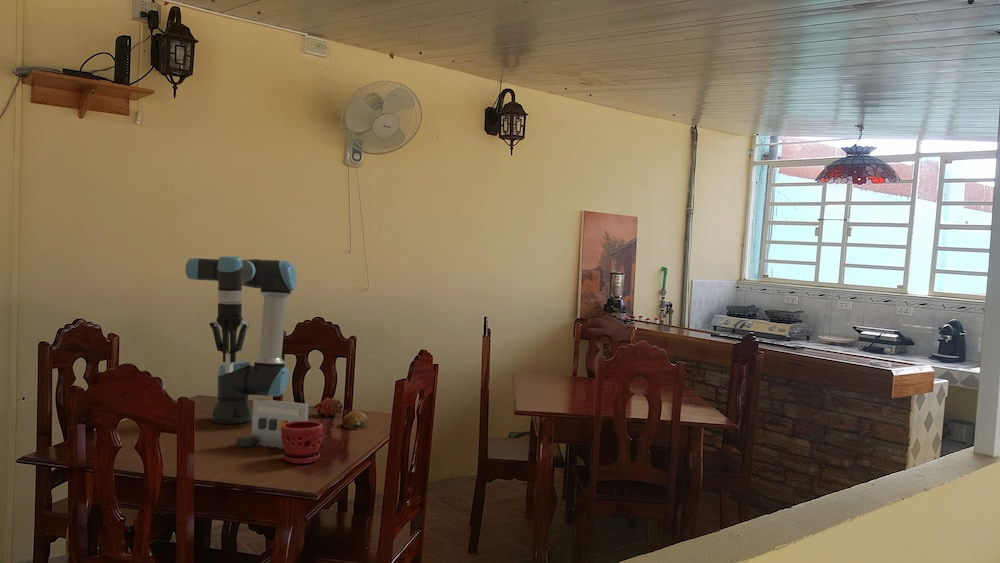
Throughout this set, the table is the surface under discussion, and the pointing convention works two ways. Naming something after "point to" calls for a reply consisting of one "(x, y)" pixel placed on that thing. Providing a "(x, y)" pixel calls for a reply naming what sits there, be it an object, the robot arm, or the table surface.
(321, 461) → the table surface
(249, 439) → the cord coil
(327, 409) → the dragon fruit
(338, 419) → the table surface
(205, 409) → the table surface
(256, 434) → the breaker panel
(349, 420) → the bread roll
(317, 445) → the plant pot
